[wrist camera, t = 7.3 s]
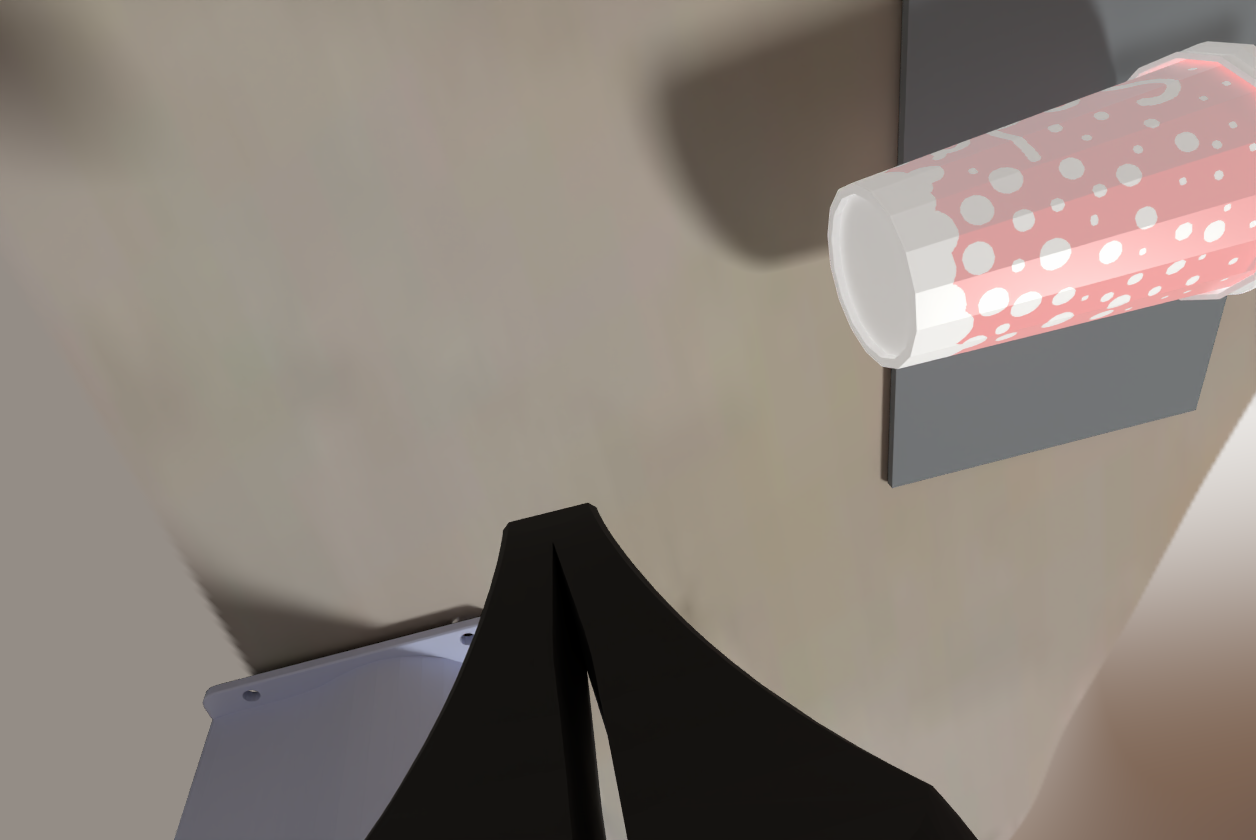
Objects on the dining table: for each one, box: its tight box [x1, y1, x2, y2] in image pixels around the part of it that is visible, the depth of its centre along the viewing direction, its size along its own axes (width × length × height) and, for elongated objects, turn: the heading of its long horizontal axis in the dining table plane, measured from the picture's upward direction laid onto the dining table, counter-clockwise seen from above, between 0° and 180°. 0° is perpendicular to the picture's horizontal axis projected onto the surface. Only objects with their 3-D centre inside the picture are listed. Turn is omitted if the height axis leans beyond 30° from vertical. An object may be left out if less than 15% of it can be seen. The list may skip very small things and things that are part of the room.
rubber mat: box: [888, 0, 1256, 488], centre depth 22 cm, size 12×17×1 cm
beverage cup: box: [827, 41, 1256, 369], centre depth 19 cm, size 6×6×14 cm
